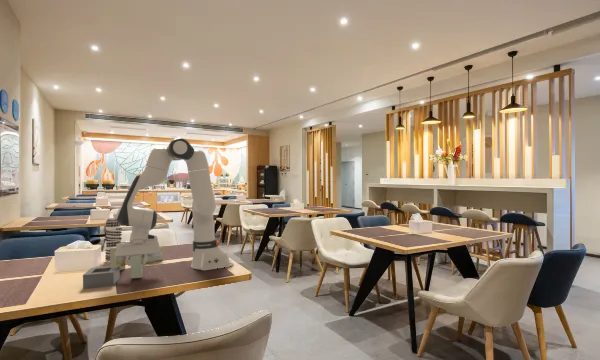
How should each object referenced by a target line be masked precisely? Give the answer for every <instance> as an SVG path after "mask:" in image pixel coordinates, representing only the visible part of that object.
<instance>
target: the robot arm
mask: <svg viewBox="0 0 600 360" xmlns="http://www.w3.org/2000/svg"><path fill="white" fill-rule="evenodd" d="M182 160H183V161H184V162H185V163H186V167H187V172H188V173H187V174H188V182H189V187H190V191H191V195H192V196H191V197H192V203H191V206H192V207H191V209H192V211H191V212H192V226H193V227H192V228H193V240H192V252H193V253H192V261H191V265H190V268H191V269H194V270H201V271H210V270H217V268H218V269H224V267H225V268H231V267H232V266H233V265H234V262H233V260H231V259H230V257H229V254H228V252H227V251H226V250H224V249H223V248H222V247H220V246H219V245H221V244H220V241H219V240H217V239H216V238H215V220H214V212H215V211H216V207H217V204H216V199H215V194H214V190H213V185H212V181H211V175H210V174H211V173H210V168H209V162H208V159H207V156H206V154H205V152H204V151H203V150H201V149H195V148H194V147H193V146H192V145H191V144H190V142H189V141H188V140H187V139H185V138H183V137H176V138H174V139H172V140H171V141H170V142H169V144H168V146H167V147H155V148H153V149H152V150H151V151H150V153H149V156H148V157H147V161H146V163H145V167H144V170H143V171H142V172H141V174H137V175H136V176H135V178H134V179H133V180H132V182H131V185H130V186H129V188H128V191H127V193H126V195H125V197H124V199H123V202H122V204H121V206H120V207H119V209H118V210H117V213H116V215H115V218H116V221H117V222H118V223H119V224H120V225H121V227H123V226H125V227H129V226H130V227H131V232H130V236H129V241H127V240H126V241H121V242H120V243H118V244H116V250H115V254H114V256H115V258H116V259H117V260H120V259H125V261H126V262H127V266H128V267H131V256H133V255H142V258H143V257H145V258H144V260H141V265H142V266H144V265H145V264H146V263H145V262H146V260H147V259H148V257H155V256H159V255H160V247H159V246H160V244H159V238H158V236H157V235H154V234H150V231H152V230H153V229H154V228H156V226H157V222H158V221H157V220H158V219H157V218H158V214H157V212H156V210H154V209H151V208H145V207H144V208H143V207H140V206H139V207H137V206H133V203H134V200H135V198H136V196H137V194H138V192H139V191H140V190H141V189H143V188H149V187H154V186H158V185H162V183H164V182H165V181H166V179H167V177H168V174H169V170H170V165H171V163H172V162H174V161H182ZM145 266H146V265H145ZM230 266H231V267H230Z"/></svg>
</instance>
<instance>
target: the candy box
mask: <svg viewBox="0 0 600 360" xmlns="http://www.w3.org/2000/svg"><path fill="white" fill-rule="evenodd" d="M159 247H160V255H159V256H155V257H148V259H147V260H146V262H145V264H150V263H155V262H159V261H163V246H161V245H159ZM144 258H145V257H143V258H142V260H144Z"/></svg>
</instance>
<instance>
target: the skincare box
mask: <svg viewBox="0 0 600 360" xmlns="http://www.w3.org/2000/svg"><path fill="white" fill-rule="evenodd" d="M115 250H116V247H113V248H110V262H109V263H110V264H109V266H120V271H122V270H125V269H126V259H120V260H117V259H116V258H115V256H114V254H115Z"/></svg>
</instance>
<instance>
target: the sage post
mask: <svg viewBox="0 0 600 360" xmlns="http://www.w3.org/2000/svg"><path fill="white" fill-rule="evenodd" d="M141 260H142V255H133V256H131V259H130V261H131V266H130V279H138V278H139V279H140V278H142V277H143V265H141Z"/></svg>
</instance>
